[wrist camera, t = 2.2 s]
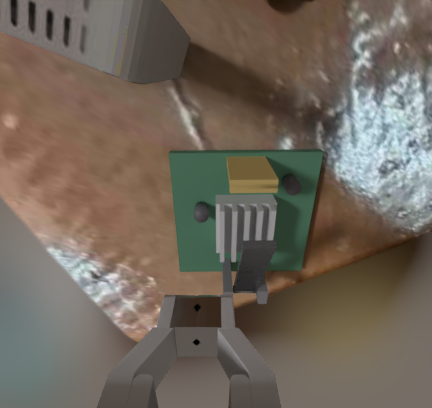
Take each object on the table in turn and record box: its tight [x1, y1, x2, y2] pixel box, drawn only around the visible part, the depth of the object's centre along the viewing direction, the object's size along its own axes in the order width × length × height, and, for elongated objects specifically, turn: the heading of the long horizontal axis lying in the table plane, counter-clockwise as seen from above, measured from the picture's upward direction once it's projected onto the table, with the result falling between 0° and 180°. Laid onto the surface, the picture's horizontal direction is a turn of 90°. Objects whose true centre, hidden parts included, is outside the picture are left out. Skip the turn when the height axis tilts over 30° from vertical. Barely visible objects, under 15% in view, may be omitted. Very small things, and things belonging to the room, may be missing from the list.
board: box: [169, 149, 323, 304], centre depth 35 cm, size 20×20×9 cm
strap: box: [233, 240, 277, 293], centre depth 30 cm, size 3×16×1 cm
